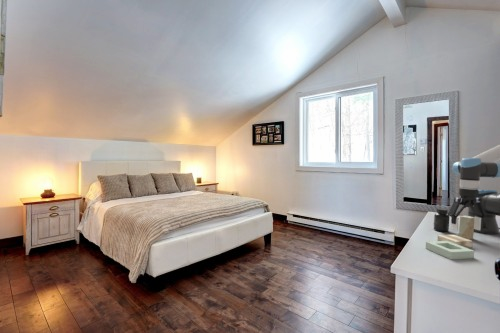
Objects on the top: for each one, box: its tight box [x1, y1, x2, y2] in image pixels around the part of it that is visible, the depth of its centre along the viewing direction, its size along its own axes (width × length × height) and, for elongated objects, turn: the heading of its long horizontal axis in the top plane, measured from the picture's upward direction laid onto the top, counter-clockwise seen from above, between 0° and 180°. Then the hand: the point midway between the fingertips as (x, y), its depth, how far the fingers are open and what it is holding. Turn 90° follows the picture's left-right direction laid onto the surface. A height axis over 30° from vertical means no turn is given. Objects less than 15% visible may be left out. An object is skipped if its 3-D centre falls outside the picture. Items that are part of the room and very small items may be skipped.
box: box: [458, 215, 475, 240], centre depth 128 cm, size 5×4×11 cm
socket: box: [425, 240, 475, 260], centre depth 108 cm, size 11×12×3 cm
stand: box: [437, 234, 473, 249], centre depth 119 cm, size 9×9×3 cm
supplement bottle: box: [433, 208, 451, 233], centre depth 141 cm, size 7×7×12 cm
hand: (465, 230), depth 128 cm, fingers open, 13 cm apart
